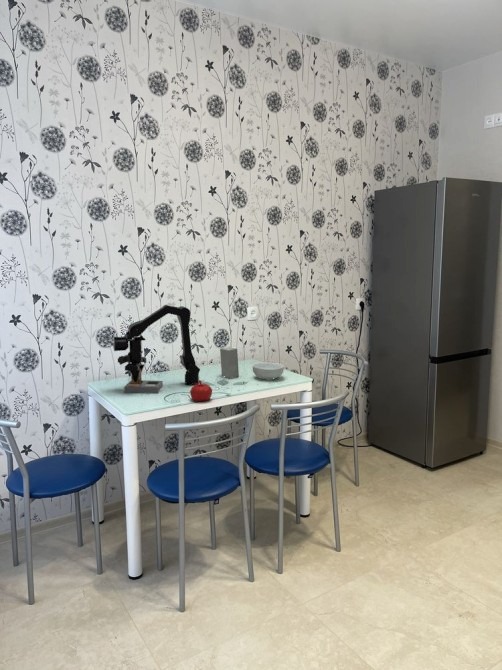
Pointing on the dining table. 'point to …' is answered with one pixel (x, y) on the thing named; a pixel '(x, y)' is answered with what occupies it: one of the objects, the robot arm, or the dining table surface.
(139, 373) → the walnut plug
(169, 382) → the dining table surface
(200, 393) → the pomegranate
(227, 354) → the skincare box
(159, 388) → the socket block
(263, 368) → the cereal bowl
